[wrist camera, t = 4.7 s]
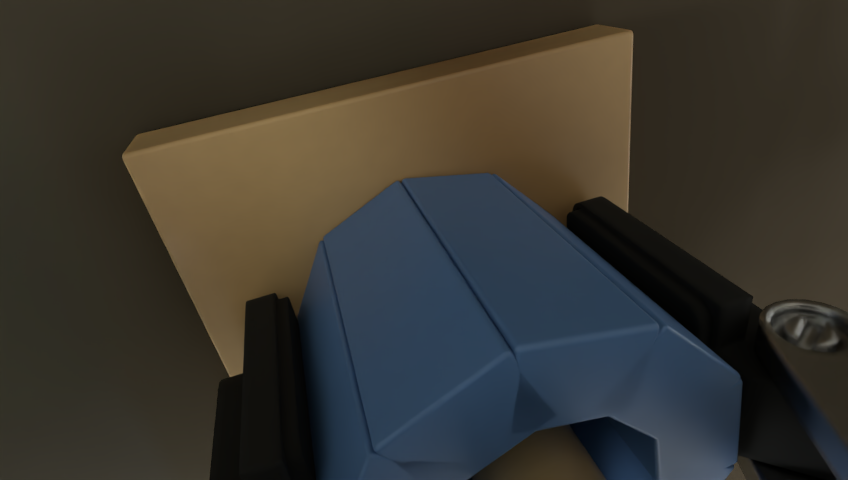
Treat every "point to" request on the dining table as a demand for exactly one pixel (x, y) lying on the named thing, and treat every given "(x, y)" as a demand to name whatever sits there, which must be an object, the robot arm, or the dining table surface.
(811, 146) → the dining table surface
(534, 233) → the spool
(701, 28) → the dining table surface
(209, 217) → the dowel stand
